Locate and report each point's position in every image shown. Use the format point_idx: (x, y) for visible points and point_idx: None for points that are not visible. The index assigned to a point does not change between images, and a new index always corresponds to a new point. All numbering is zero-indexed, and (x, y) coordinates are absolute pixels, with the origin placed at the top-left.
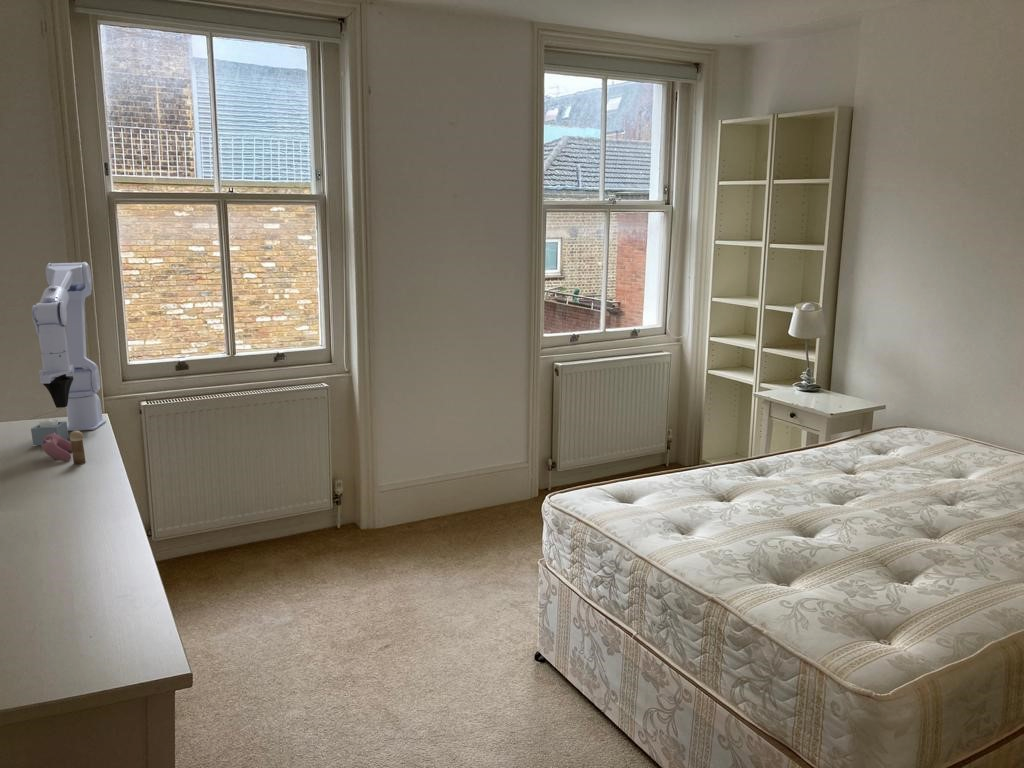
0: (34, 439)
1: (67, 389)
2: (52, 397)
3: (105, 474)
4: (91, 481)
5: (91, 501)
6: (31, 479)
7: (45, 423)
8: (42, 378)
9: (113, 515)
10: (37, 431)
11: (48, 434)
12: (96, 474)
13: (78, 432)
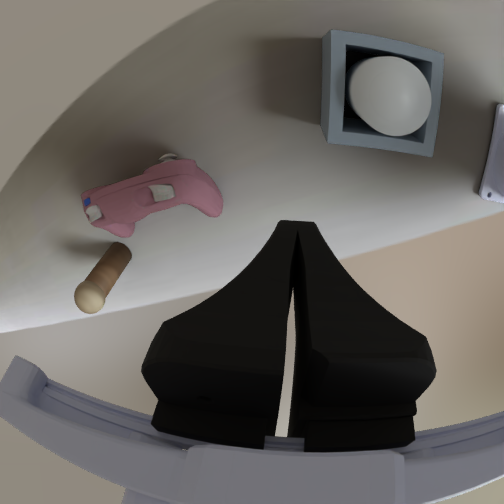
0: (324, 42)
1: (294, 367)
2: (257, 256)
3: None
4: (54, 292)
5: (18, 301)
6: (31, 203)
7: (353, 92)
8: (9, 399)
9: (12, 319)
10: (328, 56)
11: (123, 199)
12: None
13: (83, 311)
